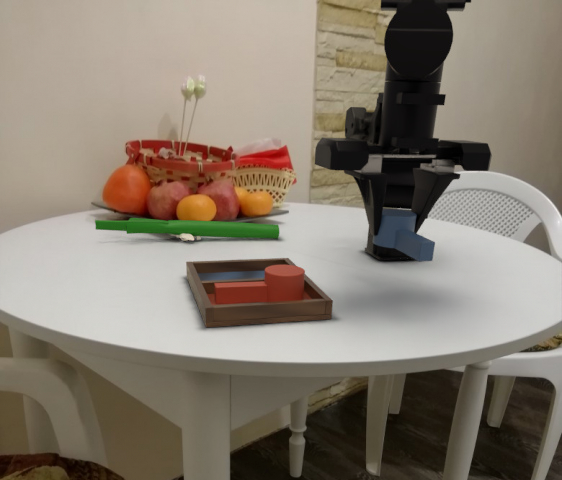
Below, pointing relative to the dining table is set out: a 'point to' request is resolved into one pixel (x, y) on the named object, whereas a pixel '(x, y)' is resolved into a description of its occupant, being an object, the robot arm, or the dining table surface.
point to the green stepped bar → (191, 228)
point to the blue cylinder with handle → (403, 235)
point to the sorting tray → (253, 270)
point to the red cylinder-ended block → (264, 287)
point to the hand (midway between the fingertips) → (393, 234)
